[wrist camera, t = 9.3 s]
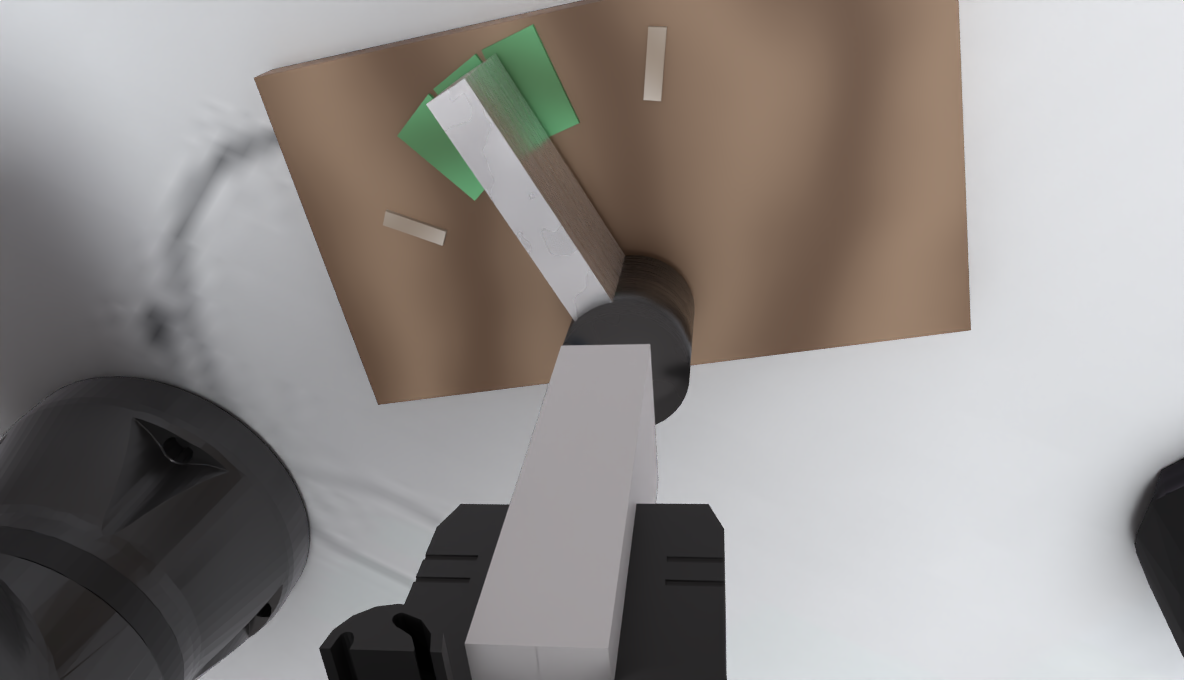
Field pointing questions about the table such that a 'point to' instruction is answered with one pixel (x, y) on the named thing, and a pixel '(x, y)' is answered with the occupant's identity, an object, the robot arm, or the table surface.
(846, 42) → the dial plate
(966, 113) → the table surface
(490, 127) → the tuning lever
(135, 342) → the table surface
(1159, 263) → the table surface
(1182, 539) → the portable speaker
